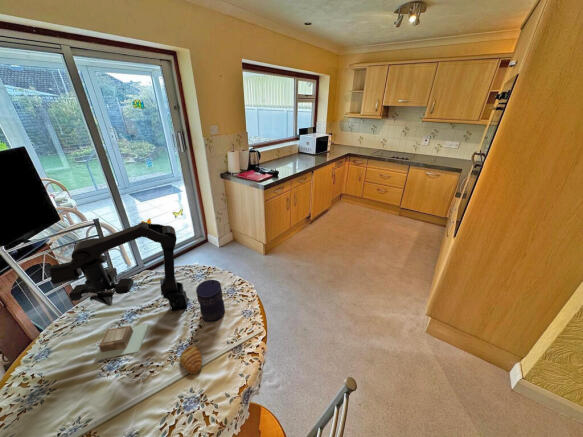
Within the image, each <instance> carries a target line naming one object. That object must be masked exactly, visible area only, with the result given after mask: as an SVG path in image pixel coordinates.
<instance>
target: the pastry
mask: <svg viewBox="0 0 583 437" xmlns="http://www.w3.org/2000/svg"><path fill="white" fill-rule="evenodd" d="M179 358H180V361H179V362H180V364H181V365H182V367H183V368H184V369H185V370H186V371H187V372H188V373H189V374H191V375H195V374H197V373H199V371H200V370H201V368H202V366H203V358H202V353H201V350H200V348H199V347H198V346H195V345H190V346H188V347H186V348H185V349H184V350H183V351H182V352H181V353H180V355H179Z"/></svg>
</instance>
